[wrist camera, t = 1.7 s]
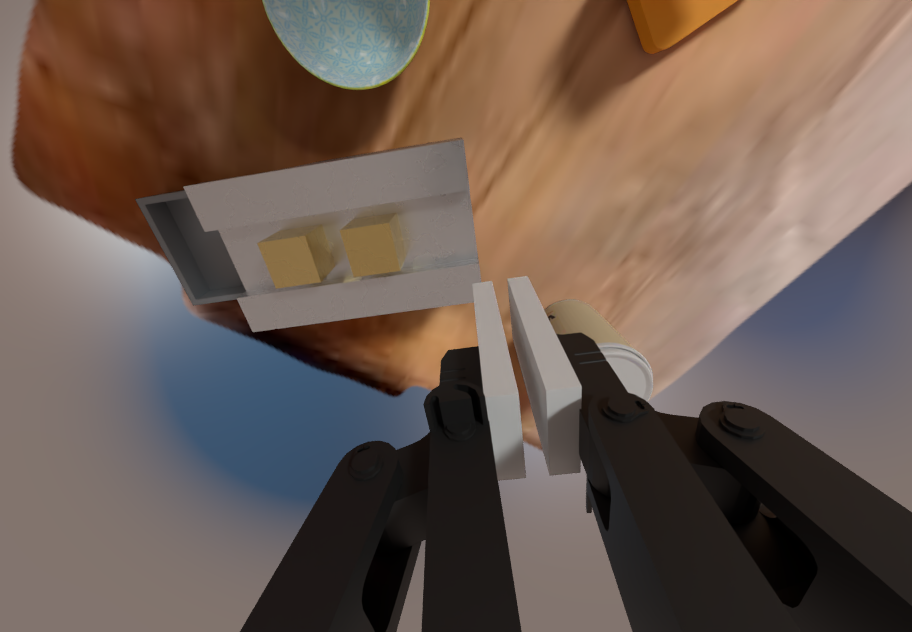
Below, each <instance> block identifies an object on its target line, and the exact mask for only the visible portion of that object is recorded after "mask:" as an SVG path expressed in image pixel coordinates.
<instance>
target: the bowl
mask: <svg viewBox="0 0 912 632" xmlns="http://www.w3.org/2000/svg"><path fill="white" fill-rule="evenodd" d="M262 2H263V5H264V8H265V11H266V14H267V17H268V19H269V21H270V23H271V25H272V27H273V29H274V31H275V33H276V35H277V36H278V38H279V40H280V41H281V42H282V44H283V45H284V47H285V48H286V50H287V51H288V52H289V53H290V54H291V56H292V57H293V58H294V59H295V60H296V61H297V62H298V63H299V64H300V65H301V66H302V67H303V68H305V69H306V70H307V71H308V72H310V73H311V74H312V75H314V76H315V77H317V78H318V79H320V80H322V81H324V82H326V83H328V84H331V85H333V86H337V87H340V88H344V89H350V90H366V89H373V88H377V87H379V86H382V85H384V84H387V83H388V82H390V81H392V80H393V79H395V78H396V77H397V76H399V75H400V74H401V73H402V72H403V71H404V70H405V69H406V68H407V67H408V65H409V64H410V62H411V61H412V60H413V58H414V57H415V55H416V53H417V51H418V49H419V47H420V44H421V42H422V40H423V36H424V33H425V30H426V26H427V22H428V15H429V7H430V0H262Z"/></svg>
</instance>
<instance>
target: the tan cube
mask: <svg viewBox="0 0 912 632" xmlns="http://www.w3.org/2000/svg"><path fill="white" fill-rule="evenodd" d="M340 234H341V237H342V240H343V243H344V247H345V250H346V253H347V257H348V260H349V263H350V267H351V270H352V273H353V277H361V276H368V275H375V274H382V273H389V272H395V271H400V270H401V268H402V266H403V263H404V261H405V258H406V252H405V247H404V243H403V238H402V234H401V229H400V225H399V220H398V216H397V213H391V214H384V215H378V216H371V217H365V218H358V219H353V220H351V221H350V222H349V223H348V224H347V225H345V226H344V227H343V228H342V229H341V230H340Z"/></svg>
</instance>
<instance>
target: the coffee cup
mask: <svg viewBox="0 0 912 632" xmlns="http://www.w3.org/2000/svg"><path fill="white" fill-rule="evenodd" d="M544 311H545V313H546V315H547V317H548V319H549V321H550V323H551V325H552V327H553V329H554V331H555V333H556V335H563V334H571V333H579V332H582V333H583V334H585V335H586V336H588V337H590V338H591V339H593V340H594V341H595V343H596V344H597V346H598V347H599V349H600V350H601V352H602V353H603V355H604V356H605V358H606V361H608V362H609V364H610V365H611V367H612V369H613V370H614V372H615V373H616V375H617V376H618V378H619V379H620V381H621V382H622V384H623V385H624V387H625V388H626V390H627V391H628V393H631V394H635V395H637V396H639V397H641V398H642V399H644V400H646V401H647V402H648V400H649V398H650V396H651V393H652V389H653V373H652V369H651V367H650V365H649V363H648V361H647V360H646V359H645V357H644V356H643V355H641V354H640V353H639V352H638V351H637V350H635V349H634V348H633V347H632V346H631V345H630V344H629V343H628V342H627V341H626V340H625V339H624V338H623V337H622V336H621V335H620V334H619V333H618V332H617V331H616V330H615V329H614V328H613V327H612V326H611V325H610V324H609V323H608V322H607V321H606V320H605V319H604V318H603V317H602V316H601V315H600V314H599V313H598V312H597V311H596V310H595V309H594V308H593V307H591V306H590V305H589V304H587V303H585V302H583V301H579V300H563V301H559V302H556V303H554V304H552V305H550V306H549V307H547V308H546V309H545V310H544Z"/></svg>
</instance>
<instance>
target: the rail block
mask: <svg viewBox="0 0 912 632" xmlns="http://www.w3.org/2000/svg"><path fill="white" fill-rule="evenodd" d="M183 188H184V190H185V192H186V194H187V196H188V198H189V200H190V202H191V204H192V206H193V209H194V211H195V213H196V215H197V217H198V219H199V221H200V223H201V225H202V227H203V229H204V232H208V231H214V230H218V231H219V233H220V235H221V237H222V240H223V242H224V244H225V246H226V248H227V251H228V253H229V255H230V257H231V259H232V261H233V264H234V266H235V268H236V270H237V272H238V274H239V277H240V279H241V281H242V283H243V285H244V287H245V290H246V291H245V292H244V293H243V294H241V295H240V296H239V297H237V300H238V303H239V305H240V307H241V309H242V311H243V313H244V315H245V317H246V319H247V321H248V323H249V326H250V328H251V330H252V332H258V331H265V330H273V329H280V328H288V327H295V326H302V325H310V324H317V323H324V322H332V321H339V320H347V319H354V318H361V317H369V316H376V315H384V314H391V313H398V312H406V311H413V310H421V309H428V308H435V307H443V306H450V305H458V304H465V303H472V302H474V296H473V286H472V284H474V283H481V276H480V268H479V261H478V254H477V246H476V238H475V230H474V223H473V215H472V207H471V199H470V191H469V190H470V189H469V181H468V173H467V165H466V157H465V149H464V141H463V139H462V138H456V139H450V140H444V141H438V142H432V143H426V144H420V145H414V146H408V147H402V148H397V149H391V150H385V151H379V152H373V153H367V154H361V155H355V156H349V157H343V158H337V159H331V160H325V161H319V162H314V163H309V164H305V165H300V166H295V167H290V168H286V169H280V170H274V171H268V172H263V173H257V174H251V175H245V176H239V177H233V178H227V179H221V180H215V181H209V182H204V183H199V184H194V185H189V186H184V187H183ZM391 213H397V216H398V220H399V225H400V229H401V234H402V238H403V243H404V247H405V252H406V258H405V261H404V263H403V266H402V268H401V270H400V271H395V272H389V273H382V274H375V275H368V276H361V277H353V273H352V270H351V267H350V263H349V260H348V257H347V253H346V250H345V247H344V243H343V240H342V237H341V234H340V230H341V229H342V228H343V227H344V226H345V225H347V224H348V223H349V222H350V221H351V220H353V219H358V218H365V217H371V216H378V215H384V214H391ZM320 224H322V226H323V229H324V232H325V235H326V239H327V242H328V245H329V248H330V251H331V254H332V257H333V260H334V263H335V267H334V268H333V270H332V271H331V272H330V273H329V274H328V275H327V276H326V277H325V278H324V279H323V281H322V282H319V283H312V284H305V285H298V286H291V287H284V288H277V289H276V288H275V285H274V283H273V280H272V278H271V276H270V273H269V271H268V268H267V266H266V264H265V261H264V259H263V256H262V254H261V252H260V249H259V247H258V244H257V243H258V242H260V241H262V240H264V239H265V238H267V237H269V236H271V235H273V234H274V233H276V232H278V231H281V230H288V229H294V228H301V227H307V226H313V225H320Z"/></svg>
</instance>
